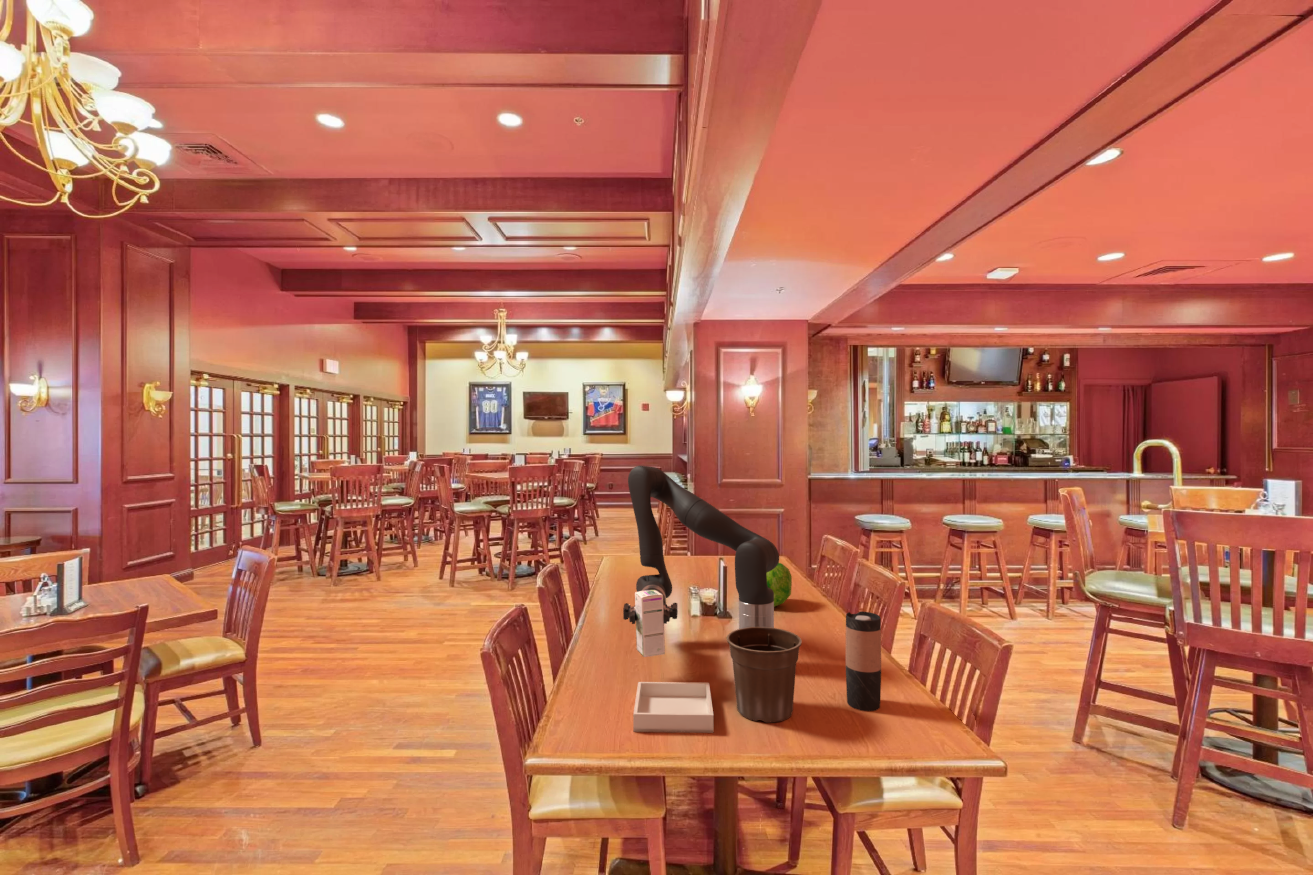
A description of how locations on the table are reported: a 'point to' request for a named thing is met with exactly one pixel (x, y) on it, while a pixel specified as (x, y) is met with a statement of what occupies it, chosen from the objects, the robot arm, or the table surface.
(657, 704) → the tray
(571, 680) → the table surface
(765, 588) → the robot arm
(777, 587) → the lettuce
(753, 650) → the plant pot
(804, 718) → the table surface
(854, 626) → the travel mug
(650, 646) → the syrup box
